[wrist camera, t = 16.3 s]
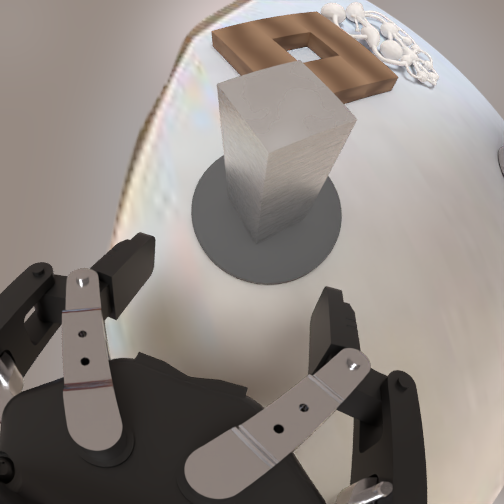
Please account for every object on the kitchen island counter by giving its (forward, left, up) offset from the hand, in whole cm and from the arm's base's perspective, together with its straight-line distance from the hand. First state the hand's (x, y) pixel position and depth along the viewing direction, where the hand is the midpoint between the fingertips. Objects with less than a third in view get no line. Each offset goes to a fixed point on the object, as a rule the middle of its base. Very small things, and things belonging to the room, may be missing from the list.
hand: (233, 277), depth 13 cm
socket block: (-19, -20, -9) cm, 29 cm away
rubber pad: (-5, -5, -9) cm, 11 cm away
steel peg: (-5, -5, -8) cm, 11 cm away
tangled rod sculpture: (-36, -22, -9) cm, 43 cm away
